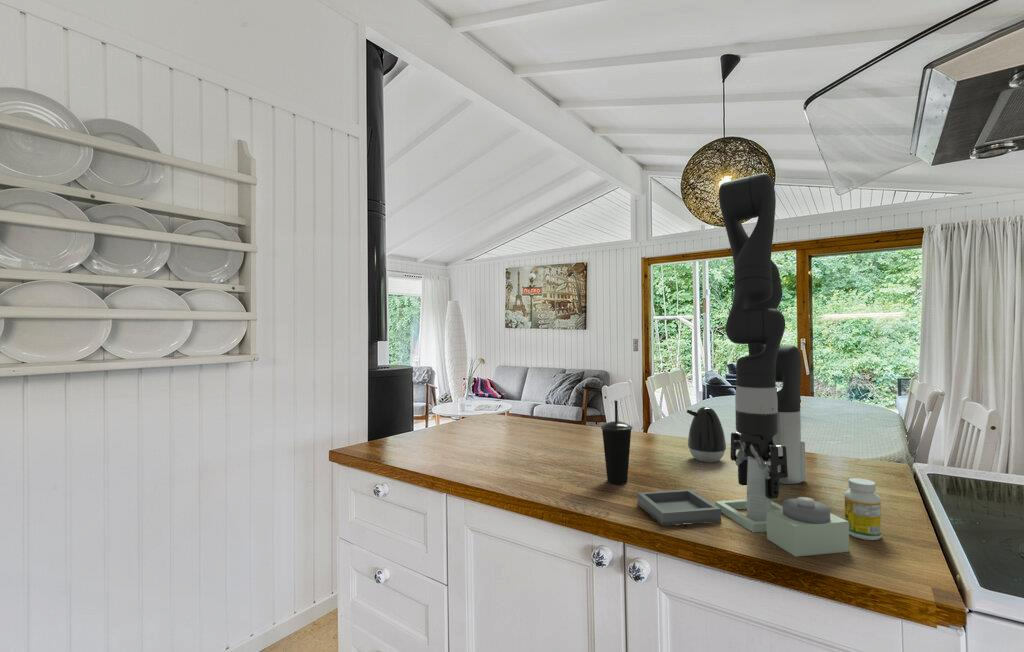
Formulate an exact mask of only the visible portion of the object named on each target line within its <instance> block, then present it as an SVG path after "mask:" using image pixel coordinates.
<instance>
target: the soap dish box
mask: <svg viewBox="0 0 1024 652" xmlns="http://www.w3.org/2000/svg"><path fill="white" fill-rule="evenodd" d="M714 505H716V506H717V507H719V508H720V509H721V514H723V515H725V516H726V517H728V518H730V519H731V520H732V521H734V522H736V523H737V524H739V525H740V524H741V525H740V526H742V527H743V528H745V529H747V530H748V529H749V530H748V531H750V532H751V531H752V532H751V533H754V532H755V533H765V532H766V539H767V540H768V541H770V542H771V543H773V544H774V545H776V546H778V547H779V548H781V549H782V550H784V551H786V552H787V553H789V554H790V555H792V556H794V557H796V558H797V557H804V556H805V557H806V556H816V555H817V556H818V555H827V554H839V553H848V552H850V534H849V522H848V521H846V520H845V518H841V517H839V516H838V515H835V514H833V513H832V512H831V507H829V506H828V505H827V504H824V503H823V502H819V501H817V500H816V501H815V499H813V498H811V497H806V496H799V497H797V498H786V499H783V501H782V505H780V504H778V503H776V502H775V501H772V500H771V510H768V511H766V519H767V521H753V520H752V519H750V518H748V517H747V515H744V514H743V513H741V512H740V511H738V510H742V509H743V510H745V509H746V508H747V498H743V499H729V500H728V499H727V500H716V501H715V504H714ZM746 510H747V509H746Z"/></svg>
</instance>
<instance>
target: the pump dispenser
mask: <svg viewBox="0 0 1024 652" xmlns="http://www.w3.org/2000/svg"><path fill="white" fill-rule="evenodd" d="M686 413H687V414H689V415H691V416H693V418H692V420H691V424H690V425H689V430H688V436H687V437H688V438H687V447H688V449H689V452H690V454H691V456H692V457H693V458H694V459H695V460H697V461H700V462H702V461H704V462H703V463H716V462H718V461H721V459H722V458H723V457H724V455H725V451H726V450H727V441H726V436H725V432H724V431H725V430H724V427H723V425H722V422H721V420H720V418H719V416H718V414H717V413H716V411H715V410H714V409H713V408H711V407H710V406H703V407H699V408H698V410H697V411H695V410H691V409H687V410H686Z"/></svg>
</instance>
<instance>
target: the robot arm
mask: <svg viewBox="0 0 1024 652" xmlns="http://www.w3.org/2000/svg"><path fill="white" fill-rule="evenodd" d="M718 202H719V206H720V212H721V217H722V219H723V220H722V221H723V223H724V227H725V231H726V235H727V237H728V242H729V246H730V250H731V255H732V261H733V267H734V269H733V278H734V280H733V281H734V285H733V286H734V290H733V291H734V294H733V301H732V304H731V308H730V310H729V314H728V315H727V319H726V322H725V323H726V324H725V333H726V336H727V338H728V340H729V341H730V342H731V343H733V344H737V345H747V349H748V355H745V356H742V357H739V358H738V359H737V360H736V365H735V367H736V368H735V369H736V370H735V371H736V373H735V374H736V375H735V379H736V382H735V383H736V384H735V385H736V389H735V396H734V397H735V410H734V411H735V430H736V431H734V432H731V434H730V460H731V461H732V462H735V466H737V480H738V481H737V482H738V485H740V486H747V469H748V456H750V457H753V458H755V459H756V461H757V463H758V466H759V467H760V468H762V469H763V472H764V474H765V477H766V478H765V495H766V497H767V498H769V499H771V500H777V499H778V498H779V495H780V484H784V485H797V484H800V483H802V482H806V477H807V475H806V442H805V441H804V440H802V431H801V430H802V428H801V427H802V425H801V423H802V422H801V420H802V419H801V417H802V416H801V398H802V397H801V396H802V394H801V386H802V384H801V383H802V382H801V381H802V356H801V352H800V350H799V348H798V347H797V346H796V345H792V344H781V343H782V341H783V337H784V333H785V329H786V318H785V316H784V315H783V313H782V312H781V311H780V310H778V308H779V307H780V303H781V301H782V298H783V286H782V281H781V275H780V270H779V268H778V266H777V264H776V263H775V262H774V261H773V260H772V248H773V240H774V232H775V230H774V229H775V217H776V205H777V201H776V190H775V185H774V181H773V179H772V177H771V175H770V174H769V173H766V172H761V173H756V174H753V175H748V176H743V177H740V178H736V179H733V180H729V181H725V182H723V183H721V184H720V186H719V189H718ZM755 218H757V221H756V224H755V227H754V229H753V230H752V233H751V234H750V236H749V235H748V234H747V232H746V231H745V228H744V227H743V224H742V221H744V220H750V219H755ZM776 383H782V387H781V389H780V390H778V391H777V388H776V387H777V385H776ZM737 451H738V452H737ZM769 459H770V460H771V462H765V461H763V460H769ZM770 466H771V472H770V471H769V468H768V467H770Z"/></svg>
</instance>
